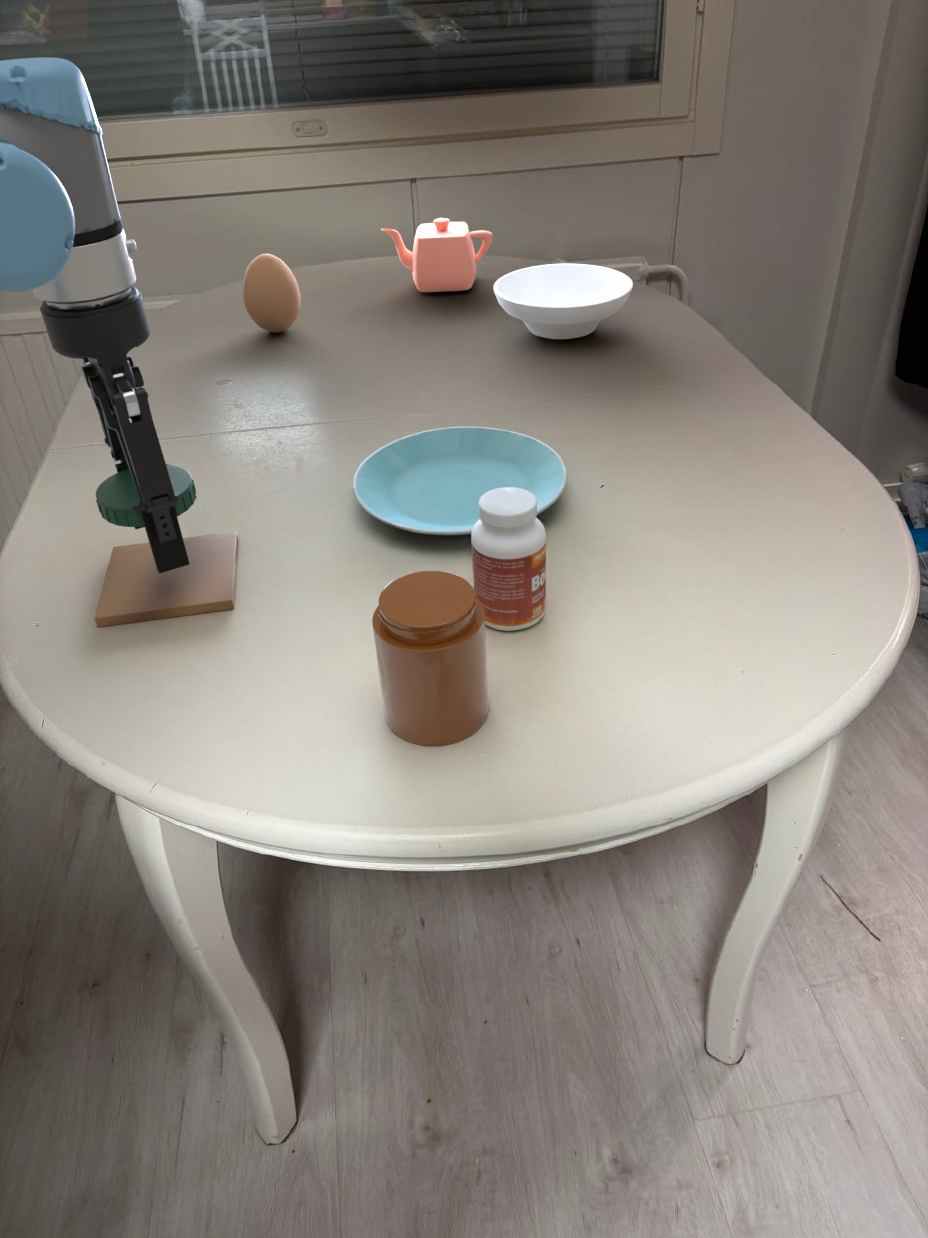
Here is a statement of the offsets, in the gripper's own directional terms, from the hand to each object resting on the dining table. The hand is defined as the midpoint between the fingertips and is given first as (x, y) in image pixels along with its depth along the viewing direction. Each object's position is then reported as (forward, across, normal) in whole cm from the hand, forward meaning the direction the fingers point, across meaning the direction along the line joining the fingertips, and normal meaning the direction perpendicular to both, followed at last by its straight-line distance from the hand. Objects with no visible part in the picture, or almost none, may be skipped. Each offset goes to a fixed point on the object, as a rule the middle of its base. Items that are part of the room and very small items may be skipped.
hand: (160, 544), depth 85 cm
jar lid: (-6, 0, 0) cm, 6 cm away
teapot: (+4, +62, -62) cm, 88 cm away
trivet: (+4, 0, 0) cm, 4 cm away
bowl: (+4, +32, -66) cm, 74 cm away
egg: (+4, +59, -32) cm, 67 cm away
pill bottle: (+4, -22, -24) cm, 33 cm away
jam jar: (+4, -29, -13) cm, 32 cm away
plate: (+4, -1, -30) cm, 31 cm away
